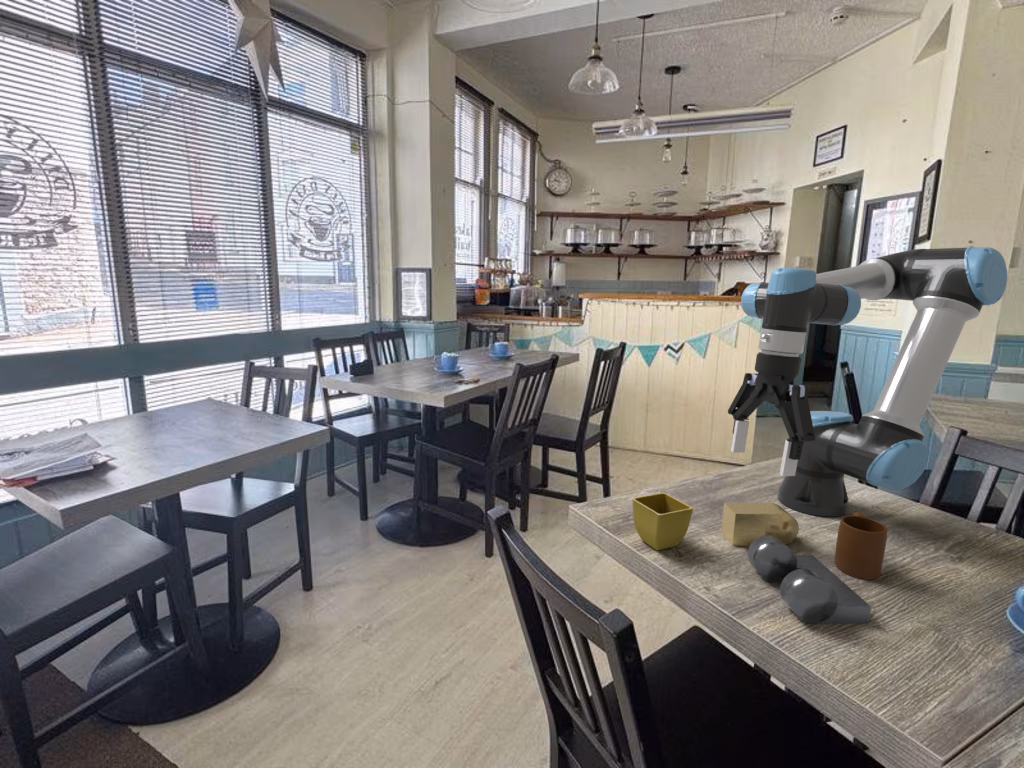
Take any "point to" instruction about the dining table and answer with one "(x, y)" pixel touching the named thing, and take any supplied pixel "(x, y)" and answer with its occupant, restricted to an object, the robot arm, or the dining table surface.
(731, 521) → the brass curved block
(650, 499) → the flower pot
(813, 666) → the dining table surface
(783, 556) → the hinge base leaf
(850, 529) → the mug
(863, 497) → the dining table surface
